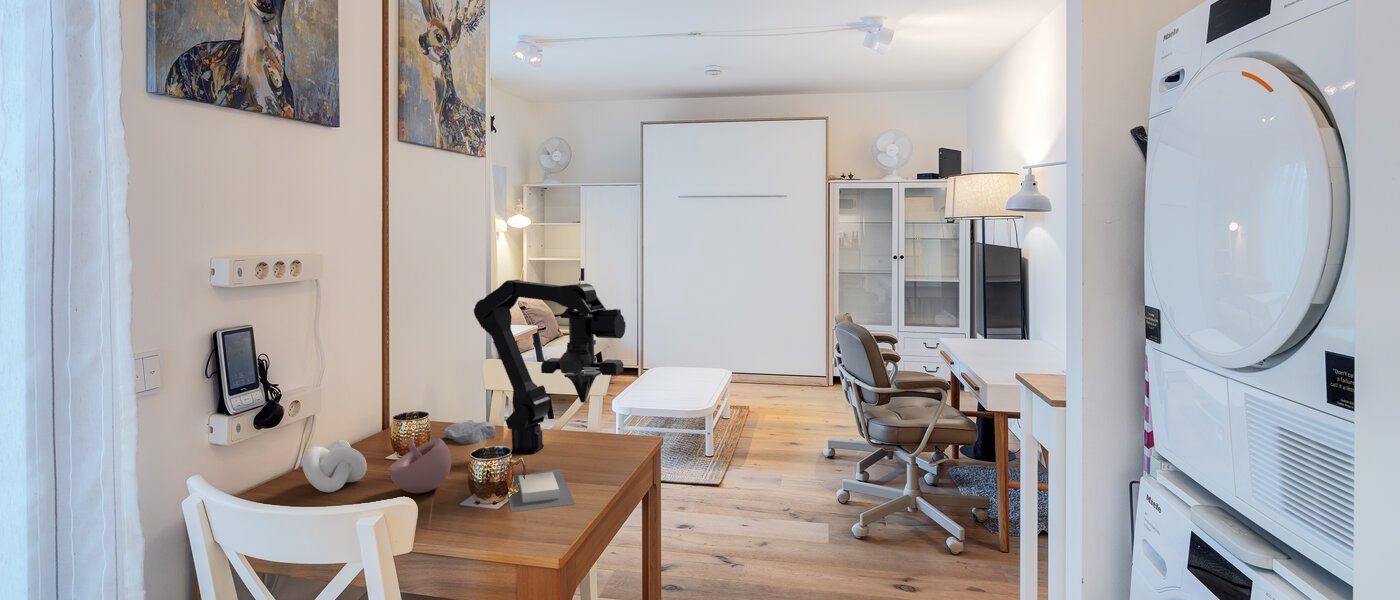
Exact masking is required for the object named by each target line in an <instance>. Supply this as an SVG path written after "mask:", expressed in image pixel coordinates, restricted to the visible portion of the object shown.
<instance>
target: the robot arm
mask: <svg viewBox="0 0 1400 600" xmlns="http://www.w3.org/2000/svg"><path fill="white" fill-rule="evenodd" d="M519 298H523V299H532V300H539V301H547V302H553V303H557V304H558V305H559V306H562V307H564V308H566V309H565V310H564V312H563V313H561V314H560V315H559V317H560V318H561V319H568V336H569V337H568V339H569V341H568V342H567V343H566V344H567V345H566V351H565V352H564V353H563V354H562V355H561V357H560V358H559V357H550V358H548V359H546V360H543V361H542V363H541V366H540V369H541V371H540V373H541V374H554V373H555V372H556V371H557V370H558V371H559V370H560V373H561V374H563V376H564V378H568V380H570V382H572V384H573V386H574V388H575V391H576V394H577V396H578V399H579V401H580V403H581V404H582V403H583V404H585V403H586V402H587V399H588V396H589V394H590V391H591V388H592V386H593V384H594V382H595V379H596V378H597V376H600V375H603V376H617V375H619V374H621V373H623V372H624V362H623V360H622V359H610V358H609V359H608V358H607V359H605V360H603V361H601V362H597V357H596V356H595V345H596V344H597V343H596V342H597V340H596V339H595V338H597V339H599V338H600V339H622V338H623V337H624V335H625V332H626V327H627V325H626V321H625V319H624V316H623V315H622V312H621V311H622V310H621V308H613V309H607V308H606V307H605V305H604V304H603V303H602V301H601V300H600V298H599V297H598V296H597V292H596V289H595V288H594V286H593V285H592V284H590V283H577V284H564V285H563V284H562V285H558V284H551V283H550V284H549V283H541V282H533V281H532V282H531V281H524V280H521V279H512V280H511V279H510V280H505V281H504V282H503V283H502V284H501V285H500V286H499V287H498V288H496V289H495V290H493V291H492V292H490V293H489V294H487V295H486V296H485V297H484V298H481V299H479V300H478V301H477V302H476V304H475V305H474V308H473V315H474V317H475V319H476V320H477V322H478V323H479V325H480V327H481V328H482V329H483V330H484V331H485V332H486V333H488V335H490V337H491V339H492V341H493V344H494V346H495V348H496V351H497V352H498V355H499V358H500V361H501V363H502V365H503V368H504V371H505V372H506V376H507V377H508V379H509V382H510V385H511V387H512V402H511V403H512V406H513V412H512V413H511V414H510V415H509V416H508V418H506V420H505V423H506V427H507V429H508V430H511V450H512V452H514V453H513V454H527V453H530V455H532V454H535V453H537V452H538V451H540V450H541V449H543V448H544V447H545V444H544V443H543V439H544V438H543V430H542V429H541V424H540V423H543V422H544V421H545V417H546V416H547V414H548V413H549V410H550V408H551V407H550V406H551V405H550V401H551V398H550V397H549V396H548V394H547V391H546V388H545V386H544V385H543V384H542V385H539V386H538V385H537V384H535V383H534V381H533V379H532V376H531V375H530V371H529V369H528V368H527V365H526V363H525V360H524V358H523V356H522V353H521V350H520V349H519V346H518V343H517V341H516V338H515V336H514V334H513V332H512V327H511V326H512V317H513V315H512V313H511V309H513V307H515V305H516V304H517V302H518V300H519ZM539 449H540V450H539ZM536 451H537V452H536Z"/></svg>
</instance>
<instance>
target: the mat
mask: <svg viewBox="0 0 1400 600" xmlns="http://www.w3.org/2000/svg"><path fill="white" fill-rule="evenodd" d="M548 472H553V474H554V477H555V479H556V482H557V485H558V487H559V499H554V500H546V501H538V502H530V503H523V502H522V497H521V493H520V488H519V485H518V483H519V476H521V475H523V474H524V473H518V474H513V475H514V482H513V487H515V486H516V484H517V485H518V488H519V491H518V492H517V493H514V494H512V495H511V496H510V497H509V498H508V497H507V499H508V504H509V509H510V513H517V512H524V511H533V510H534V511H535V510H540V509H549V508H557V507H564V506H565V507H566V506H571V505H575V504H576V503H575V500H574V498H573V496H572V493H571V491H570V488H569V486H568V484H567V482H566V479H565V477H564V475H563V472H562V470H561V469H554V470H544V471H538V472H537V471H535V472H527V473H529V475H530V474H539V473H548ZM527 473H525V474H526V475H527Z"/></svg>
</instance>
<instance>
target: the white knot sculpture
mask: <svg viewBox="0 0 1400 600" xmlns="http://www.w3.org/2000/svg"><path fill="white" fill-rule="evenodd" d="M301 465H302V470H303V473H304V475H305V477H306V479H307V481H308V482H309V484H311V485H312V487H314V488H315V489H317V490H318V491H320V492H324V493H334V492H337V491H338V490H340V489H341V488H342V487H343V486H344V485H345V484H346V483H355V482H357V481H360V480H361V479H363V478H364V476H365V474H367V469H368V464H367V460H366V458H365V456H364V455H363V454H362V453H361V452H360V451H359V450H357V449H355V448H353V447H351V445H350V443H349V442H348V441H347V440H344V439H339V440H336V441H334V442H333V443H331V445H329V447H328V448H326V447H324V446H312V447H311V448H308V449H307V450H306V451H305V453H304V454H303V456H302V460H301Z"/></svg>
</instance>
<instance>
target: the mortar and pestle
mask: <svg viewBox="0 0 1400 600" xmlns="http://www.w3.org/2000/svg"><path fill="white" fill-rule="evenodd" d="M408 449H409V450H410V451H408V452H407V453H405V454H404V455H403V456H402V457H400V458H398V459H397V460H396V461H395V462H393V463H392V464H391V465H390V466H389V467H388V473H389V477H390V478H391V480H392V481H393V483H394V484H395V485H396V486H397V488H398V489H401V490H402V491H404V492H407V493H411V494H424V493H428V492H431V491H433V490H435V489H437V488H438V487H439V486H441V485H442V483H444V481H446V478H448V476H449V474H450V472H451V467H452V454H451V451H450V449H449V447H448V445H447V444H446V442H445V441H444V440H443V439H442V438H439V437H438V438H434V439H431V440H429V441H426V442H425V443H424V444H421V445H419V446H418V447H416V444H415V439H414V438H413V437H409V438H408Z"/></svg>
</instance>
